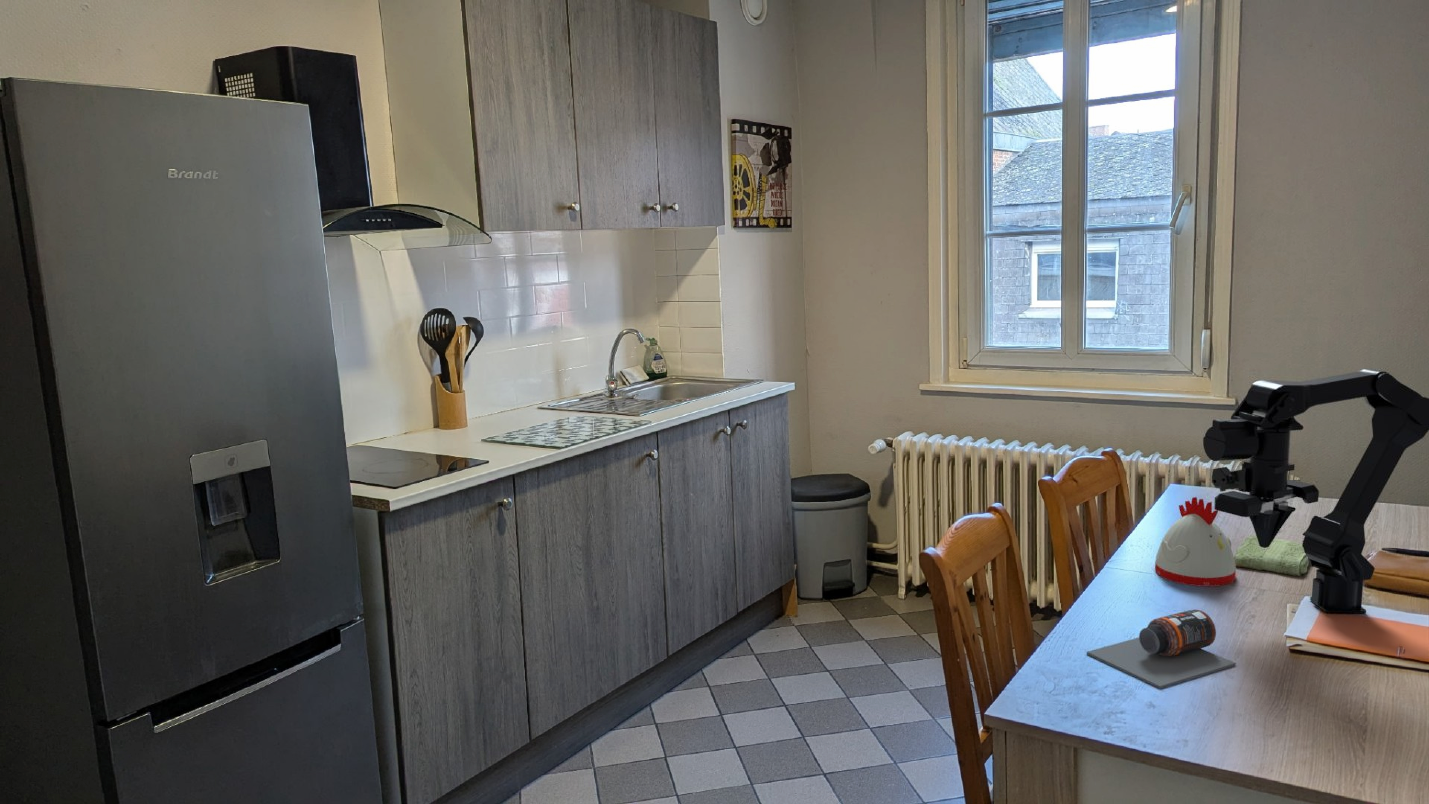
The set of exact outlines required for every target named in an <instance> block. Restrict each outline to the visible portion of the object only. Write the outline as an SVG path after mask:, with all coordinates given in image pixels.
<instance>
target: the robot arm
mask: <svg viewBox="0 0 1429 804" xmlns="http://www.w3.org/2000/svg"><path fill="white" fill-rule="evenodd" d="M1360 398H1364V401H1365V403H1366V404H1367V405H1368V406H1370V408H1371V409H1373V410H1374V411H1373V414H1372V417H1371V431H1372V437H1371V440H1370V442H1369V444H1368V445H1367V447H1366V449H1365V451H1364V453H1363V454H1362V457H1361V458H1360V460H1359V462H1358V464H1357V466H1356V468H1355V470H1354V471H1353V473H1352V474H1351V477H1350V479H1349V480H1348V482H1347V484H1346V486H1345V488H1344V489H1343V491H1342V493H1341V495H1340V496H1339V498H1338V500H1337V502H1336V504H1335V506H1334V508H1333V510H1331V511H1330V512H1329V513H1327V514H1326V515H1324V516H1320V515H1318V514H1315V515H1314V516H1312V517H1311V520H1310V523H1309V525H1308V527H1307V529H1305V530H1306V531H1304V532H1303V533H1302V536H1304V538H1303V540H1302V543H1301V544H1302V547H1303V548H1304V552H1305V554H1306V556H1307V557H1308V560H1309V566H1310V567H1313V568H1316V572H1315V577H1314V578H1312V584H1311V585H1312V589H1311V596H1310V597H1309V600H1310V601H1311V602H1312V603H1313V604H1314V605H1316V606H1317V607H1318V606H1319V607H1318V608H1320V609H1321V610H1322V609H1323V610H1324V611H1323V610H1322V611H1323V612H1325V611H1326V612H1325V613H1327V612H1346V613H1345V614H1348V613H1347V612H1357V613H1356V614H1366V613H1367V609H1365V608H1364V607H1363V606H1362V603H1363V593H1364V591H1363V590H1364V581H1369V580H1371V579H1372V577H1373V575H1374V572H1375V569H1376V568H1375V566H1374V565H1372V563H1371V562H1370V561H1369V560H1368V559H1367V558H1366V557H1365V556H1364V555H1363V551H1364V548H1365V545H1366V536H1365V535H1366V534H1365V524H1366V522H1367V520H1368V518H1369V517H1370V514H1371V512H1372V511H1373V509H1374V508H1375V506H1376V504H1377V501H1378V500H1379V498H1380V496H1381V494H1382V493H1383V490H1384V489H1385V487H1386V485H1387V483H1388V481H1389V480H1390V478H1391V475H1392V474H1393V472H1394V471H1395V470H1396V469H1395V468H1396V466H1397V465H1398V464H1399V462H1400V460H1401V458H1402V456H1403V454H1404V452H1405V451H1406V450H1407V449H1408V448H1409V447H1411V446H1412V445H1415V444H1416V443H1417V442H1419V441H1420V440H1422V439H1423V438H1424V437H1425V436H1426V435H1427V434H1428V433H1429V398H1428V397H1426V396H1422V394H1420V393H1418V392H1417V391H1415V390H1414V389H1412V388H1411V387H1409V386H1407V385H1406V384H1403V383H1402V382H1400V381H1398V379H1397V378H1396V377H1394V376H1393V375H1392V374H1390V373H1389V372H1387V371H1383V370H1377V369H1371V368H1364V369H1360V370H1358V371H1355V372H1349V373H1344V374H1337V375H1332V376H1331V375H1330V376H1325V377H1319V378H1314V379H1307V380H1303V381H1291V380H1276V379H1275V380H1271V379H1270V380H1269V379H1267V380H1266V379H1263V380H1256V381H1255V382H1253V383H1251V385H1250V388H1249V389H1248V391H1247V393H1246V394H1245V397H1243V399H1242V401H1240V403H1239V405H1238V407H1237V408H1236V409H1235V410H1234V412H1233V413H1232V414H1231V416H1230V419H1221V418H1220V419H1216V418H1215V419H1213V420H1212V421H1211V422H1212V425H1211V427H1209V428H1208V429H1207V430H1206V432H1205V433H1204V434H1205V435H1204V436H1203V438H1202V446H1203V450H1204V453H1205V454H1206V457H1208V459H1210V460H1211V461H1213V462H1221V461H1236V460H1244V461H1243V462H1242V464H1241V469H1236V470H1235V469H1234V470H1230V469H1229V468H1228V467H1227V466H1223V467H1218V468H1213V469H1212V472H1211V473H1212V474H1211V483H1212V485H1213V486H1214V487H1216V488H1219V492H1221V493H1219V494H1218V495H1216V496H1215V497H1214V506H1213V507H1214V508H1213V509H1214V511H1216V510H1218V512H1223V513H1226V514H1230V515H1233V516H1238V517H1242V518H1249V520H1250V522H1251V524H1252V527H1253V530H1254V534H1255V535H1256V536H1257V539H1258V542H1259V545H1260V547H1263V548H1267V547H1269V546H1270V544H1271V542H1272V541H1273V539H1276V537H1277V534H1278V533H1279V532H1280V530H1281V529H1282V527H1283V526H1284V524H1285V523H1286V522H1287V520H1288V519H1289V518H1290V516H1291V515H1292V513H1294V512H1296V507H1294V506H1290V505H1289V502H1288V500H1290V499H1293V498H1294V499H1295V498H1300V499H1302V501H1303V502H1304V503H1305V504H1312V503H1319V494H1320V491H1319V489H1318V488H1317V486H1316V485H1315V484H1312V483H1307V482H1303V481H1298V480H1293V479H1289V472H1292V471H1295V464H1296V463H1295V464H1294V463H1291V462H1289V461H1290V448H1291V447H1290V446H1291V445H1290V444H1291V432H1293V431H1302V430H1303V429H1304V425H1302V424H1301V423H1300V422H1299V421H1297V420H1296V419H1295V417H1296V416H1300V415H1303V414H1304V413H1305V412H1306V411H1308V410H1309V409H1310V408H1313V407H1316V406H1319V405H1320V406H1322V405H1325V404H1326V405H1327V404H1331V403H1337V402H1343V401H1348V400H1354V399H1360ZM1234 489H1238V491H1235V490H1234ZM1228 490H1231V491H1228ZM1226 491H1227V492H1226Z"/></svg>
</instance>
